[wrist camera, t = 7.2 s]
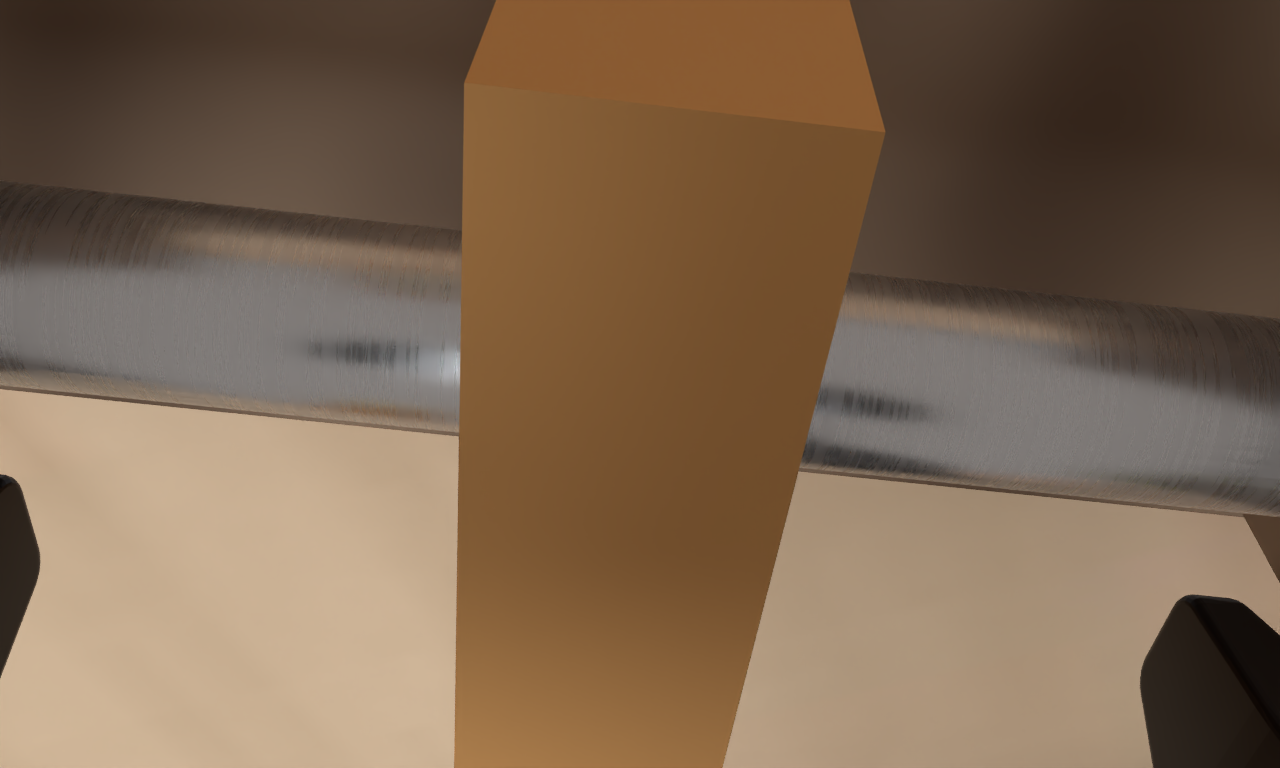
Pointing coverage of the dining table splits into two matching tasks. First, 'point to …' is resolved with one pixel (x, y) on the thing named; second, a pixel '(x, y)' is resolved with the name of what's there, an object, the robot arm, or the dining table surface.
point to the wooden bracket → (641, 357)
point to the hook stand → (903, 182)
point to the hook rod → (431, 332)
